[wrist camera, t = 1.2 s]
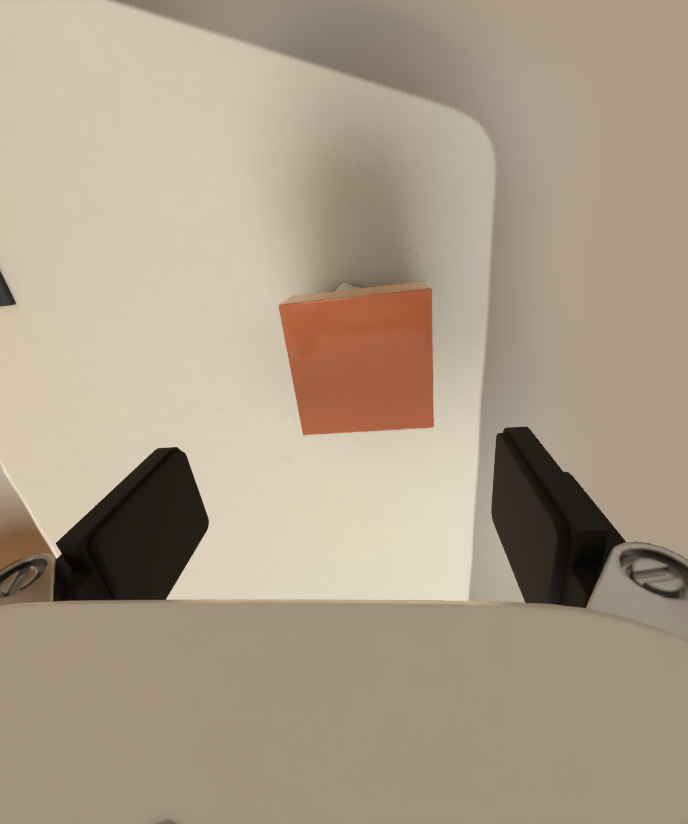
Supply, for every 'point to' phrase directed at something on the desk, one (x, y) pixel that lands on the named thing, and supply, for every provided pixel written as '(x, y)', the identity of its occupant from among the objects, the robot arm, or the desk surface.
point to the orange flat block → (361, 358)
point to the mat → (5, 294)
